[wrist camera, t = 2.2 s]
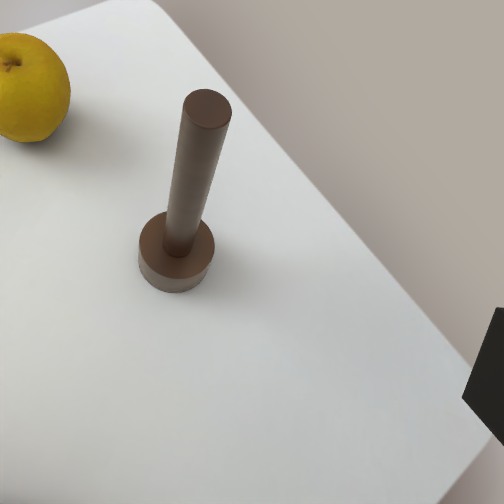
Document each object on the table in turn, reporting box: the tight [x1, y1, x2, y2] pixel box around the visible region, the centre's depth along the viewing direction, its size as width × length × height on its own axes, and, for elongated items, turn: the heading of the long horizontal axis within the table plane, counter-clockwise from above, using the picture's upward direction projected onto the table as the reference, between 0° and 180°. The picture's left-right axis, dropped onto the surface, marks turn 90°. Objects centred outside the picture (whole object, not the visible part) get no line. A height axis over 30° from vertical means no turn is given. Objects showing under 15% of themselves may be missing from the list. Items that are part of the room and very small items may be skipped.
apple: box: [0, 33, 71, 143], centre depth 33 cm, size 6×6×8 cm
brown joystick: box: [139, 89, 232, 293], centre depth 27 cm, size 5×5×17 cm
